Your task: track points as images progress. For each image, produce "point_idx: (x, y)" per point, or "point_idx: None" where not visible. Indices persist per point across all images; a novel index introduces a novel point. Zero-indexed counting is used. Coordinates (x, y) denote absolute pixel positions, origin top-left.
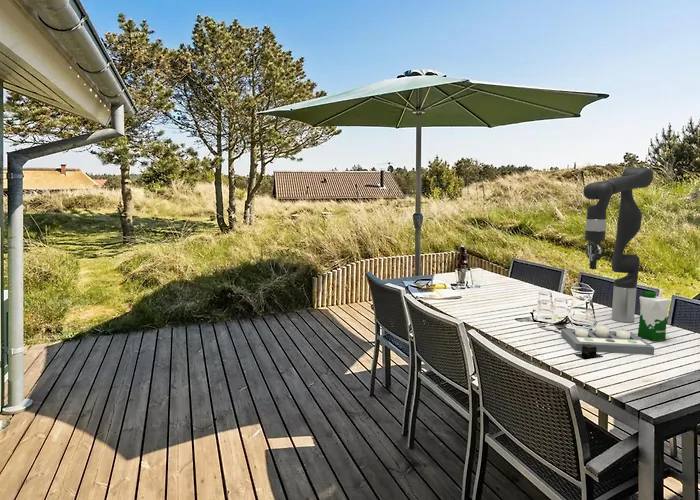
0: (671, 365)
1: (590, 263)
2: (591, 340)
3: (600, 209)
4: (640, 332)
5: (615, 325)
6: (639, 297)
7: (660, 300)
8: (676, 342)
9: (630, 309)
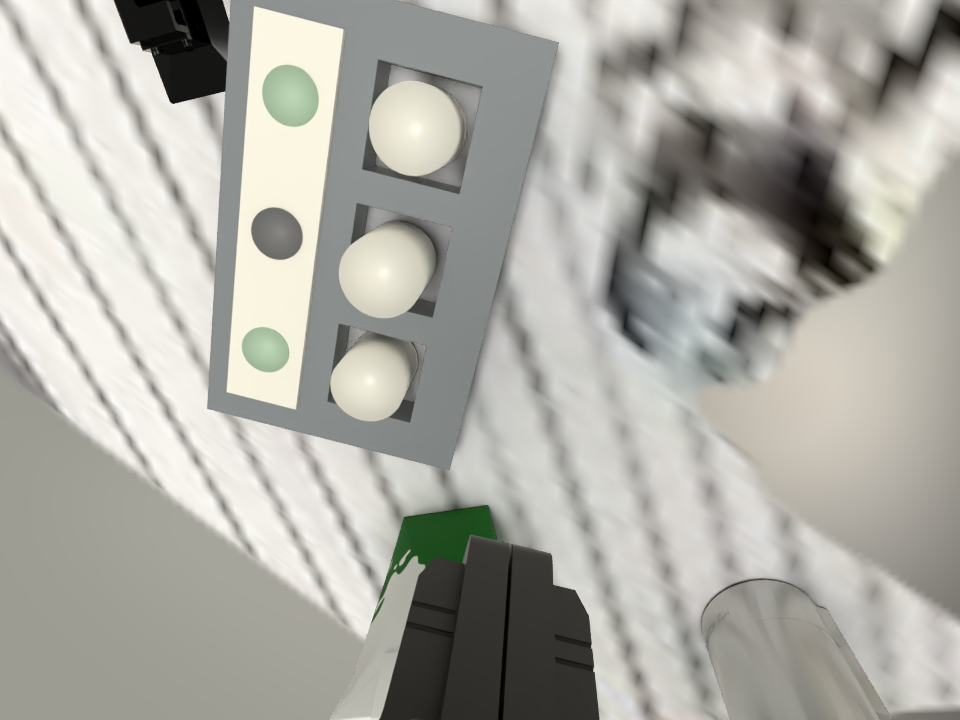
0: (104, 369)
1: (493, 648)
2: (267, 102)
3: None
4: (464, 521)
5: (677, 525)
6: None
7: None
8: None
9: (724, 690)
